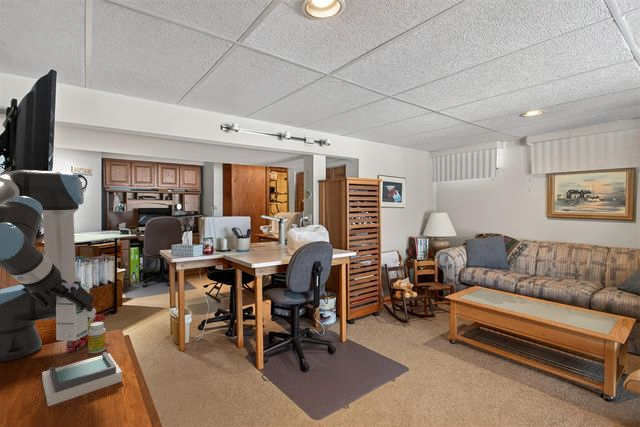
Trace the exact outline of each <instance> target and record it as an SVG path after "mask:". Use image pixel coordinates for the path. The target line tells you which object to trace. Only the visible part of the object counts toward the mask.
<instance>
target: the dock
mask: <svg viewBox="0 0 640 427" xmlns="http://www.w3.org/2000/svg"><path fill="white" fill-rule="evenodd" d="M41 378H42V379H41V380H42V388H43V390H44V395H45V399H46V404H47V407H50V406H54V405H57V404H60V403H63V402H65V401H69V400H71V399H74V398H77V397H80V396H83V395H86V394H88V393H89V394H90V393H92V392H95V391H98V390H100V389H103V388H106V387H110V386H113V385H115V384H118V383H121V382H123V370H121V368H120V366H119V365H118V363H117V362H116V361H115V359H114V358H113V356H112V355H111V353H109V352H108V353H107V351H104V352H102V353H101V355H99V356H95V357H90V358H87V359H83V360H80V361H77V362H73V363H70V364H66V365H62V366H59V367H55V365H52V366H50V367H49V369H48V370H45V371H42V372H41Z"/></svg>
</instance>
